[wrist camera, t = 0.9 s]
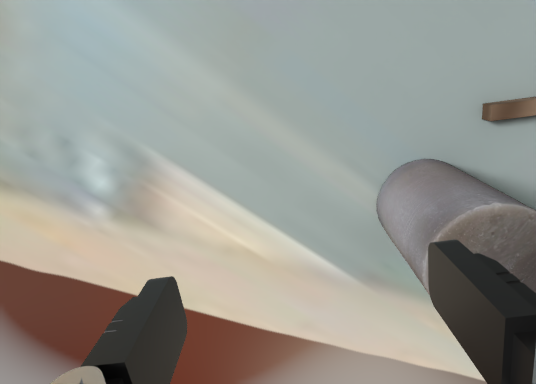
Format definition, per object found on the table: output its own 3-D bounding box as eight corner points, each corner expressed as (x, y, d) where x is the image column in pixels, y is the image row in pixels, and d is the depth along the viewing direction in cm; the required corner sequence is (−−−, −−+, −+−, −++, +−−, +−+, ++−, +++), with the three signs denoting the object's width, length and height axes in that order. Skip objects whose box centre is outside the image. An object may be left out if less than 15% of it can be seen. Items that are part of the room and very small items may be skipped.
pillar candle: (475, 223, 38) (591, 310, 24) (389, 253, 40) (450, 352, 26) (453, 142, 36) (568, 186, 21) (362, 178, 37) (413, 241, 23)
